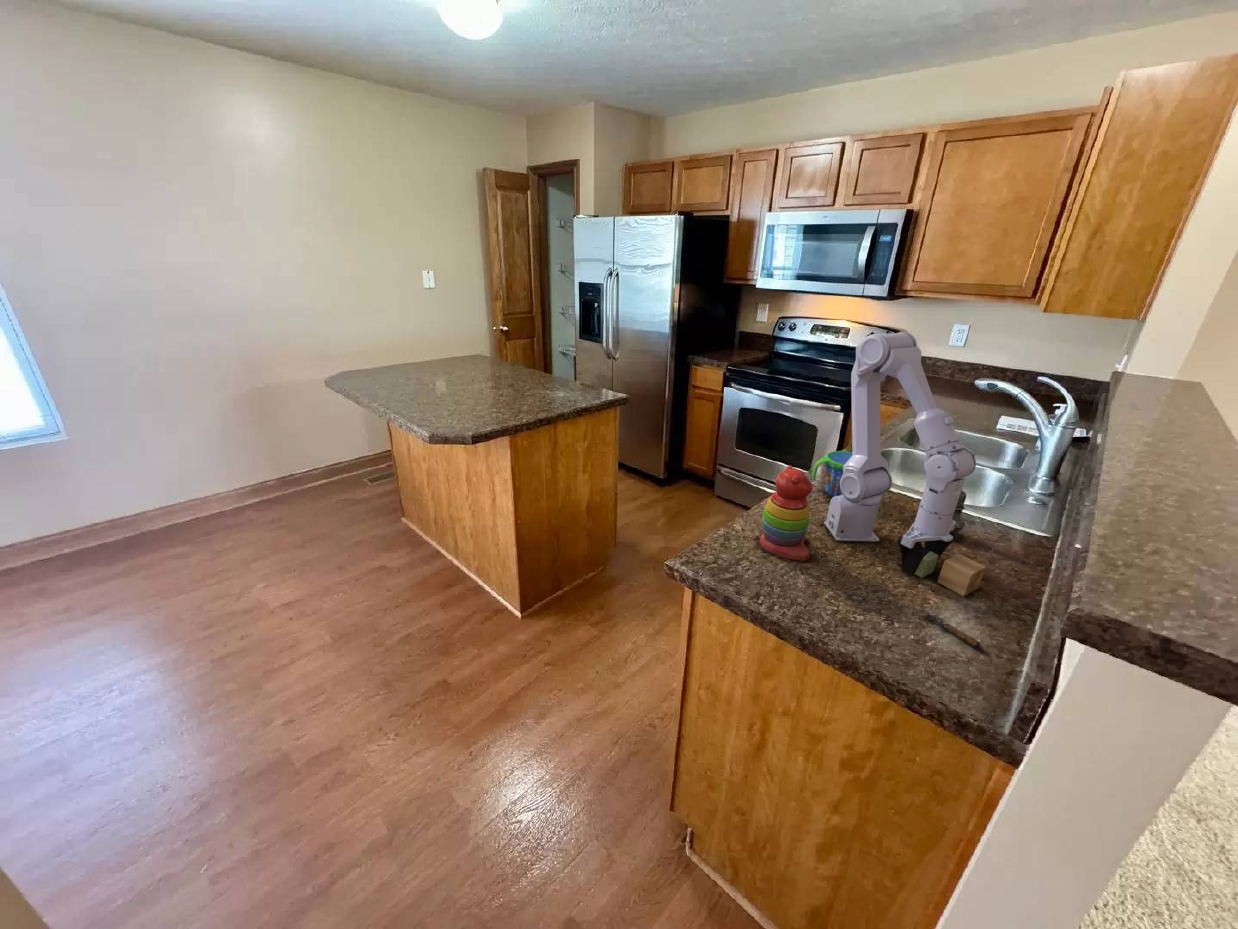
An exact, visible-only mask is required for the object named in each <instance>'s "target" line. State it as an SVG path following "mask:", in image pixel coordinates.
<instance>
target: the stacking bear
mask: <svg viewBox="0 0 1238 929" xmlns="http://www.w3.org/2000/svg"><path fill="white" fill-rule="evenodd" d="M775 490H776V491H774V492H773V493H772V494H771V496H770V497H769V498H768V499H767V501H766V504H765V506H764V509H763V511H762V518H761V525H762V526H761V527H762V532H763V533H762V534H761V535H760V537H759V544H760V546H761V547H762V549H764V550H765V551H766V552H768V553H771V554H773V555H775V556H778V557H780V558H783V559H786V560H787V559H788V560H792V561H801V562H805V561H807V560H809V559H810V550H809V549H808V548H807V546H806V545H805V544H804V543H806V540H807V537H806V533H807V531H808V528H809V525H810V507H809V500H808V498H807V497H808V496H809V495H810V494H811V493H812V492H813V490H814V484H813V482H812V481H810V480H809V479H808V477H807V475H806V474H805V472H803V471H802V470H800V469H797V468H793V466H792V465H788V466H787V467H786V468H785V469H784V470H782V471H781V472H780V473H779V474H778V475H777V476H776V479H775Z"/></svg>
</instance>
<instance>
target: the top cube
mask: <svg viewBox="0 0 1238 929" xmlns="http://www.w3.org/2000/svg"><path fill="white" fill-rule="evenodd" d="M938 556H939V555H937V554H935V553H933V552H931V551H930V552H929V553H928V554H926V556H925V557H924V558H923V559H922V561H921V562H920V564H919V566H918V568H917V570H916V572H915V574H914V575H916V576H918V577H920V578H925V577H926V576H928V575H930V574H932V573H934V571H935V568H936V565H937V562H938V561H937V559H938ZM938 560H939V559H938Z"/></svg>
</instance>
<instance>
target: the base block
mask: <svg viewBox="0 0 1238 929" xmlns="http://www.w3.org/2000/svg"><path fill="white" fill-rule="evenodd" d="M985 570H986V566H985V565H984V564H981V563H979V562H977V561H975V560H972V559H970V558H968V557H966V556H964V555H962V554H960V553H957V554H955V555H954V556H951V557H949V558H947V559H945V560H943V564H942V567H941V569H940V573H939V575H938V579H937V583H938V584H940V585H942V586H944V587H945V588H947V589H949V590H951V591H953V592H954V593H956V594H958V595H960V596H962V597H965V596H967V595H969V594H971V593H973V592H974V591H976V590H978V589H979V587H980V584H981V581H982V579H983V576H984V573H985Z"/></svg>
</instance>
